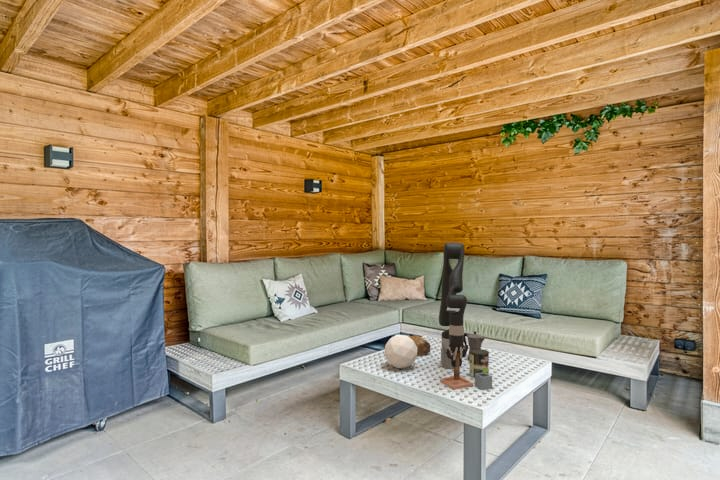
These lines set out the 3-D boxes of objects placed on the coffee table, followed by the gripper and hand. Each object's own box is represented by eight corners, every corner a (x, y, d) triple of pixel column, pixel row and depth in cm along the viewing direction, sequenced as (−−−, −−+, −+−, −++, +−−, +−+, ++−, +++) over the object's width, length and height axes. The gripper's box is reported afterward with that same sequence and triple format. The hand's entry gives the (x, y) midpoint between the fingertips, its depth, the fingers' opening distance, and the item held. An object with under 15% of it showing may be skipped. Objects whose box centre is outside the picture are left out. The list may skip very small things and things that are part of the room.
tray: (440, 383, 219) (440, 378, 219) (459, 379, 223) (459, 375, 223) (453, 391, 208) (453, 386, 208) (473, 387, 212) (473, 383, 212)
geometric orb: (393, 380, 242) (372, 353, 242) (405, 359, 259) (385, 334, 258) (417, 370, 231) (396, 342, 231) (428, 349, 248) (408, 323, 247)
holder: (474, 387, 212) (474, 373, 212) (484, 385, 215) (484, 372, 215) (482, 391, 207) (482, 377, 207) (492, 389, 209) (492, 376, 209)
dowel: (452, 378, 216) (452, 352, 216) (457, 378, 217) (457, 351, 217) (455, 380, 213) (455, 353, 213) (460, 379, 214) (460, 352, 214)
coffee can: (492, 377, 227) (492, 351, 227) (480, 381, 221) (480, 355, 221) (477, 372, 235) (477, 347, 235) (465, 376, 229) (465, 350, 229)
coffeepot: (488, 360, 256) (488, 331, 256) (480, 364, 249) (480, 334, 249) (466, 355, 267) (466, 327, 267) (458, 358, 260) (458, 330, 260)
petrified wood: (433, 354, 268) (430, 340, 267) (415, 360, 265) (412, 346, 263) (420, 345, 287) (417, 332, 286) (403, 351, 283) (400, 337, 282)
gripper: (463, 330, 221) (463, 362, 221) (440, 332, 216) (440, 365, 216) (472, 333, 214) (472, 366, 214) (449, 336, 209) (449, 370, 209)
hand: (456, 366), depth 215 cm, fingers closed on dowel, 3 cm apart
